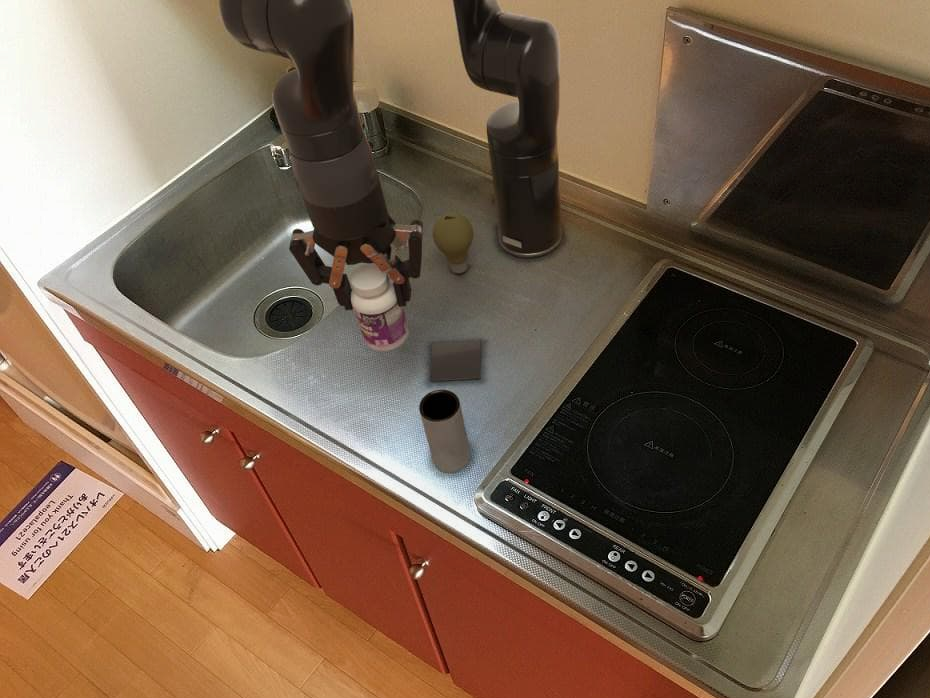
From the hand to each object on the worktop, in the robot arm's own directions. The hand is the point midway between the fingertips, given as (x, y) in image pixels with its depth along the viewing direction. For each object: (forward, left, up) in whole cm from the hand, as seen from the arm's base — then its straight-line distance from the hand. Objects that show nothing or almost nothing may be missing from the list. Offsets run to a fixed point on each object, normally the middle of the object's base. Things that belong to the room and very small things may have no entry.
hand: (376, 302), depth 91 cm
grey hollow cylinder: (+11, +2, -17) cm, 21 cm away
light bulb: (-19, +14, -17) cm, 29 cm away
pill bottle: (0, 0, -6) cm, 6 cm away
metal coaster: (-3, +8, -17) cm, 19 cm away
